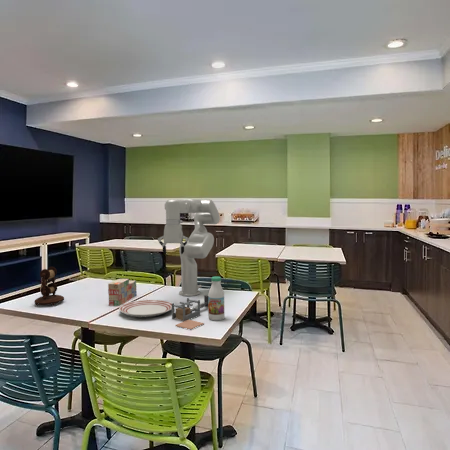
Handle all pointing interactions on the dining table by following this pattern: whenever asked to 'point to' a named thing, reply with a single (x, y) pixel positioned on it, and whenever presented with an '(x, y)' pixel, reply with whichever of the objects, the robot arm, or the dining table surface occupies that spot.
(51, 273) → the wooden spool stand
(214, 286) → the milk bottle
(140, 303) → the dinner plate
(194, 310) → the plunger
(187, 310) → the cube
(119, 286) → the stack of blocks
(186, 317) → the cage
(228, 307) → the dining table surface
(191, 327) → the coaster
